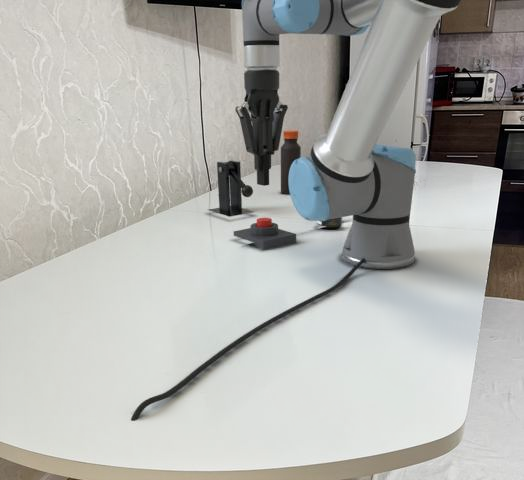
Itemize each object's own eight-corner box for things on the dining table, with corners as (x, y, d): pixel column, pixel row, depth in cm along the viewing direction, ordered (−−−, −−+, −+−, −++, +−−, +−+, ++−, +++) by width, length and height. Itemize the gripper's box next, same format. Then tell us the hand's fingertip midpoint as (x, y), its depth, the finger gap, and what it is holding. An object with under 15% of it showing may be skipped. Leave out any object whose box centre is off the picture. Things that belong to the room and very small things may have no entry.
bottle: (278, 194, 181) (278, 132, 172) (282, 190, 187) (282, 130, 178) (298, 194, 180) (299, 132, 171) (301, 191, 186) (302, 130, 177)
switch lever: (253, 198, 146) (256, 189, 144) (244, 200, 144) (247, 190, 142) (229, 169, 151) (232, 160, 149) (220, 170, 149) (223, 161, 147)
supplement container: (347, 228, 138) (349, 187, 133) (326, 232, 134) (328, 190, 130) (331, 223, 143) (332, 183, 138) (311, 227, 140) (312, 186, 135)
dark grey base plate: (296, 242, 126) (296, 226, 124) (263, 250, 121) (262, 233, 119) (265, 233, 135) (265, 217, 133) (233, 240, 129) (232, 224, 127)
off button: (274, 226, 126) (274, 219, 125) (262, 229, 124) (262, 221, 123) (265, 224, 128) (265, 216, 127) (253, 226, 126) (253, 219, 125)
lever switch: (255, 216, 152) (254, 162, 146) (229, 220, 148) (227, 165, 141) (232, 209, 161) (229, 158, 154) (207, 213, 156) (203, 161, 149)
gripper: (274, 69, 117) (274, 179, 128) (226, 69, 110) (230, 185, 121) (296, 69, 112) (294, 183, 123) (247, 69, 105) (250, 190, 116)
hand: (263, 184), depth 122 cm, fingers closed
